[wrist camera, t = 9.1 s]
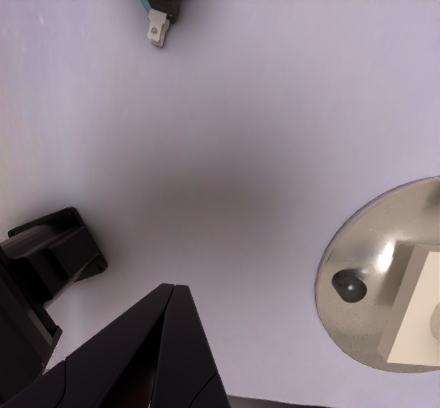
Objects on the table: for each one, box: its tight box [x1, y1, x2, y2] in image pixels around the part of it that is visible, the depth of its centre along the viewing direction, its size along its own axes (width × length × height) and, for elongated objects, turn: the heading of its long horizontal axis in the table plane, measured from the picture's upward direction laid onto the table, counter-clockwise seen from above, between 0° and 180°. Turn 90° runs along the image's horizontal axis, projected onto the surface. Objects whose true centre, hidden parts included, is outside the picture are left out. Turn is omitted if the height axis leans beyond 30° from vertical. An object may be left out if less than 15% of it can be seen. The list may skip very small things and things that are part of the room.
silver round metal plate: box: [315, 177, 440, 373], centre depth 21 cm, size 20×20×3 cm
